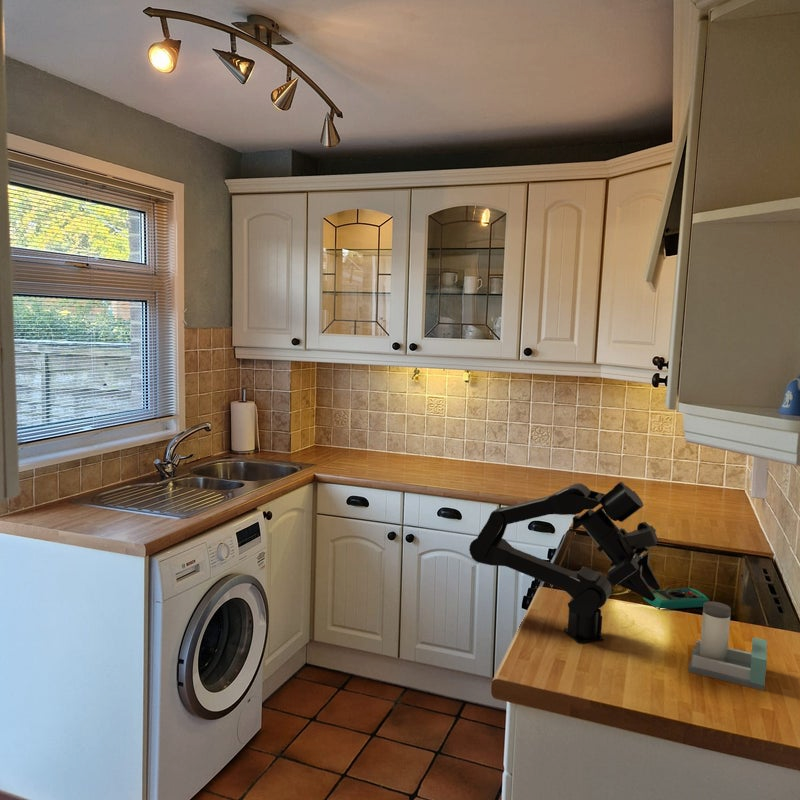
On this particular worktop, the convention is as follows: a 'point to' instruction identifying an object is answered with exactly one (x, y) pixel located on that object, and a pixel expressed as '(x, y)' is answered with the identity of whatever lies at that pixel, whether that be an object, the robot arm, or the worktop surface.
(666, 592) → the digital multimeter
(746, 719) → the worktop surface
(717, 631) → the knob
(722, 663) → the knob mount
